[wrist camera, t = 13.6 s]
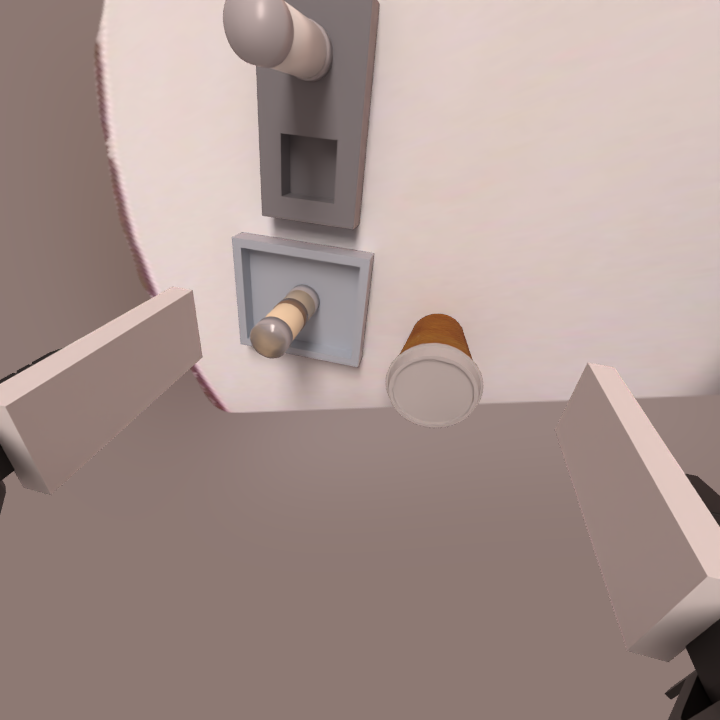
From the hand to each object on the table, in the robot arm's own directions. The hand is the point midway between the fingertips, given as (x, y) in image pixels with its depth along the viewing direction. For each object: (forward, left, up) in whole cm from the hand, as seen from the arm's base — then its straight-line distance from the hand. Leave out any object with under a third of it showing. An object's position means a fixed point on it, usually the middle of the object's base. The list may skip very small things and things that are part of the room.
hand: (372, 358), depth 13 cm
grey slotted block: (+12, -6, -32) cm, 34 cm away
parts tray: (+13, +13, -32) cm, 37 cm away
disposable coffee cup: (-4, +15, -32) cm, 35 cm away
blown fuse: (+13, +13, -31) cm, 36 cm away
